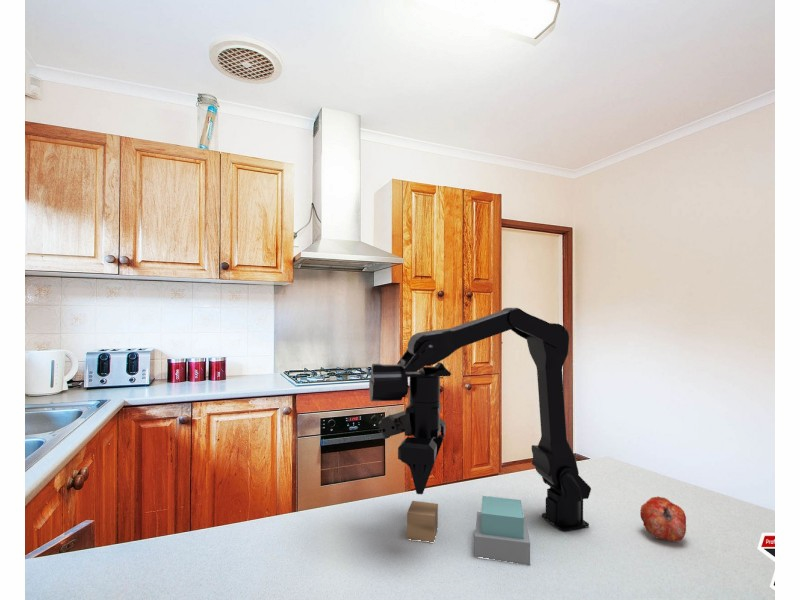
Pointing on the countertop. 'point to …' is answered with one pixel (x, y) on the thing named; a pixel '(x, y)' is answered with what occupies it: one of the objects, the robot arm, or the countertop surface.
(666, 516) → the pomegranate
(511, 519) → the teal block
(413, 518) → the walnut cube
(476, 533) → the slate block
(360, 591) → the countertop surface
